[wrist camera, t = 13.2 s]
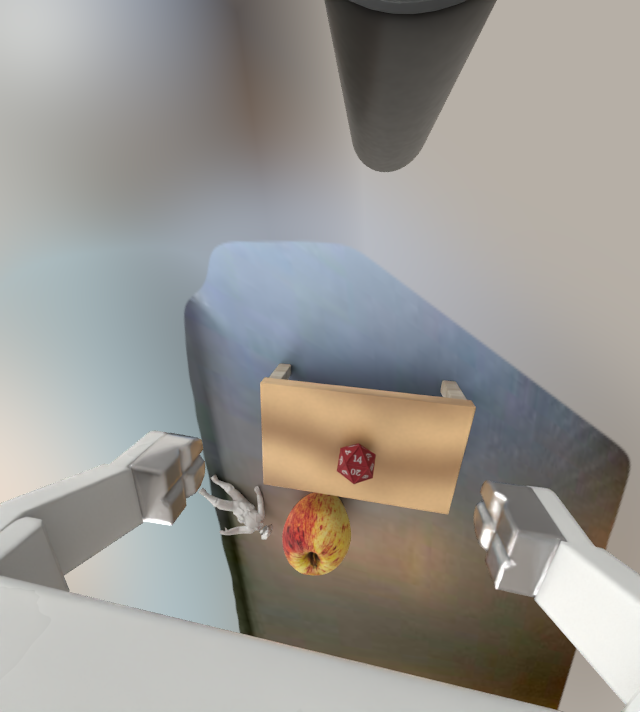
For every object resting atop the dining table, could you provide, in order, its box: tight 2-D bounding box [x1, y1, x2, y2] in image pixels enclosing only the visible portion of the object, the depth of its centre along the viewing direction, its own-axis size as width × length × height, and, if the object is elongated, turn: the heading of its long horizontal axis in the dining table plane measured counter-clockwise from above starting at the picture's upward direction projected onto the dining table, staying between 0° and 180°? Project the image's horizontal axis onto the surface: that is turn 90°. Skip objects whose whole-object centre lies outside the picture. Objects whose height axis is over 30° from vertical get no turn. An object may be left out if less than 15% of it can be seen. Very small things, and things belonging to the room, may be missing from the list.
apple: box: [283, 492, 351, 575], centre depth 40 cm, size 9×9×10 cm
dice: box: [337, 443, 376, 484], centre depth 31 cm, size 4×4×4 cm
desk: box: [260, 364, 476, 514], centre depth 36 cm, size 14×22×6 cm, turn 88°
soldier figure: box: [199, 475, 273, 540], centre depth 45 cm, size 8×5×12 cm
